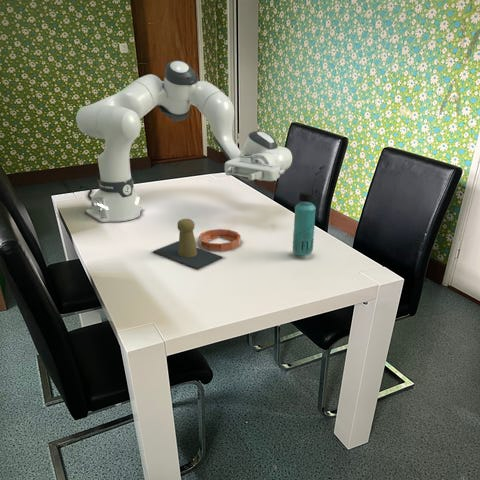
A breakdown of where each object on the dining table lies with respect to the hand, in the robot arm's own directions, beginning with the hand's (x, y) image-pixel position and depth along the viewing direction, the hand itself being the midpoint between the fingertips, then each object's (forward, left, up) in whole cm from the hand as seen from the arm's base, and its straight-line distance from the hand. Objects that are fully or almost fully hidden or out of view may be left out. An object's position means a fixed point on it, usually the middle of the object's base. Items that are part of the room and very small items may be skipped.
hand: (238, 175), depth 153 cm
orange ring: (+1, -12, -20) cm, 23 cm away
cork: (0, -25, -20) cm, 32 cm away
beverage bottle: (+28, -3, -20) cm, 35 cm away
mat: (0, -26, -20) cm, 32 cm away
